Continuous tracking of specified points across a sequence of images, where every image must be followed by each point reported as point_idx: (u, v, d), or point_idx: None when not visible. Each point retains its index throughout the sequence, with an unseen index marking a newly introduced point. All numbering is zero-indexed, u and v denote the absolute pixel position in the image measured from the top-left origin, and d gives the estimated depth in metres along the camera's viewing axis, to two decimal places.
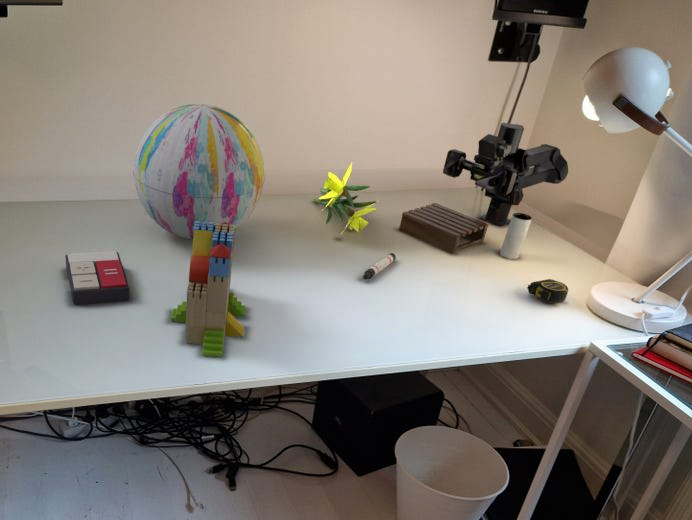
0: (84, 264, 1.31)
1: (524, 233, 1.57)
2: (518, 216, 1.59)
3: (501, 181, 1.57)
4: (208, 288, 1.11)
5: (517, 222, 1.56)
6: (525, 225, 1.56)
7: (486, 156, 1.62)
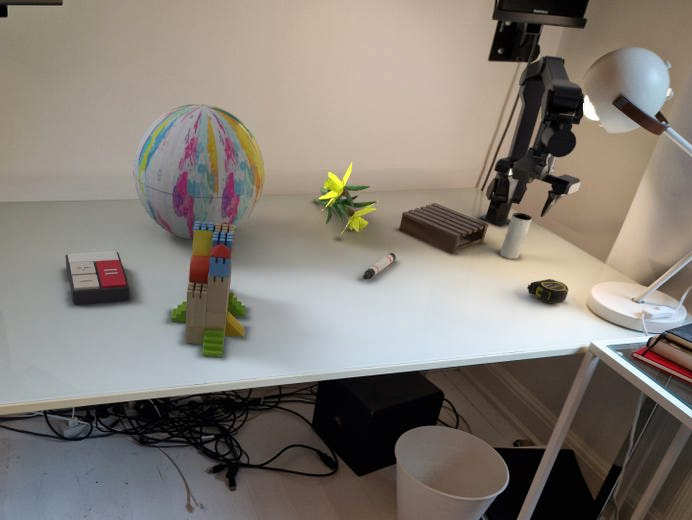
0: (84, 264, 1.31)
1: (524, 233, 1.57)
2: (518, 216, 1.59)
3: None
4: (208, 288, 1.11)
5: (517, 222, 1.56)
6: (525, 225, 1.56)
7: None
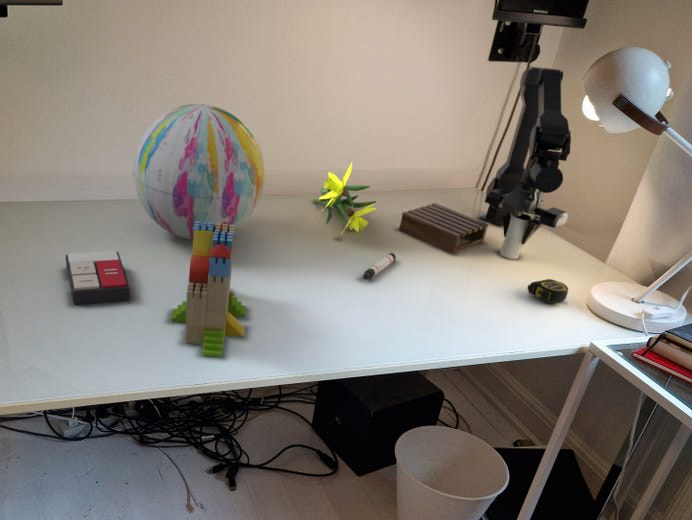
0: (84, 264, 1.31)
1: (524, 233, 1.57)
2: (518, 216, 1.59)
3: None
4: (208, 288, 1.11)
5: (517, 222, 1.56)
6: (525, 225, 1.56)
7: None
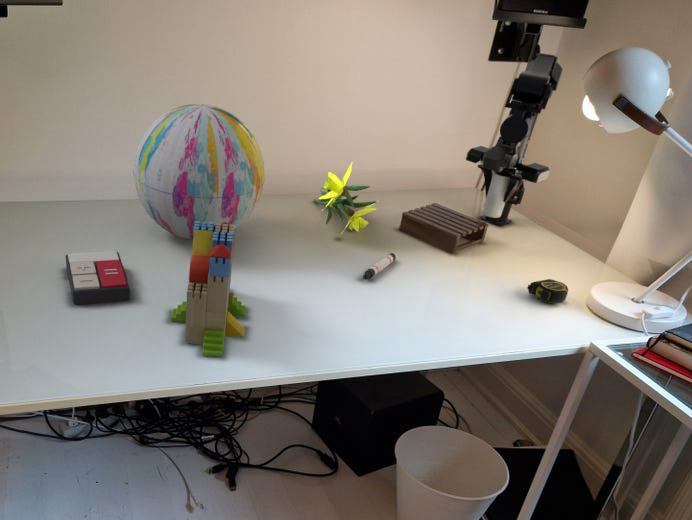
0: (84, 264, 1.31)
1: (506, 190, 1.55)
2: (500, 174, 1.56)
3: None
4: (208, 288, 1.11)
5: (499, 179, 1.53)
6: (507, 182, 1.53)
7: None
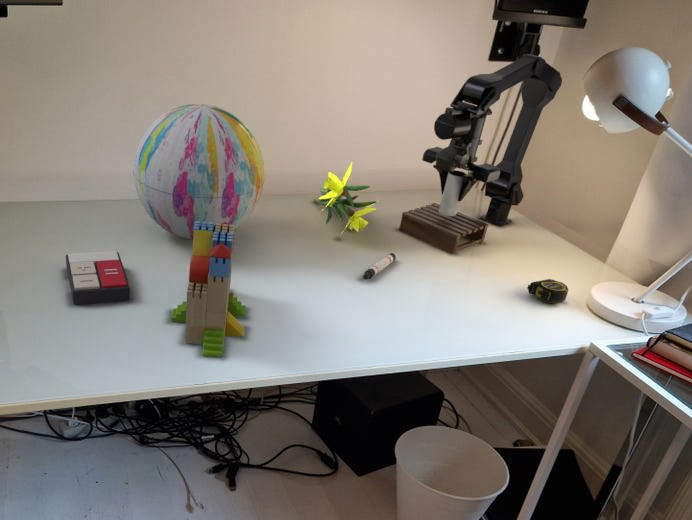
0: (84, 264, 1.31)
1: None
2: (454, 174, 1.62)
3: None
4: (208, 288, 1.11)
5: (452, 179, 1.59)
6: (460, 182, 1.59)
7: None
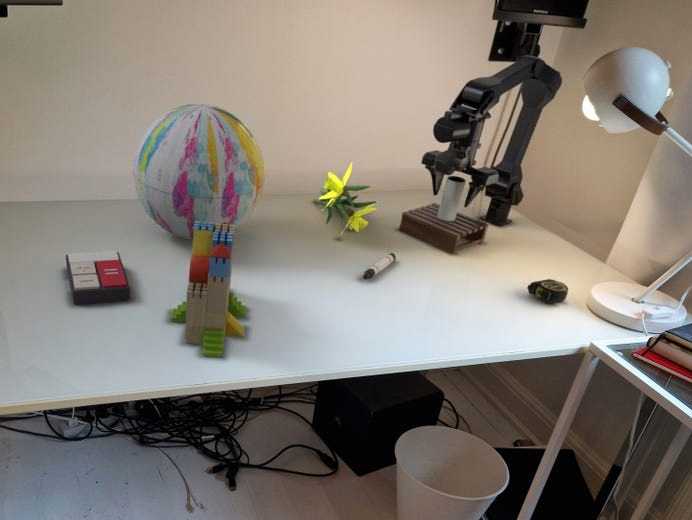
0: (84, 264, 1.31)
1: (458, 195, 1.61)
2: (453, 179, 1.62)
3: None
4: (208, 288, 1.11)
5: (451, 184, 1.60)
6: (459, 187, 1.60)
7: None
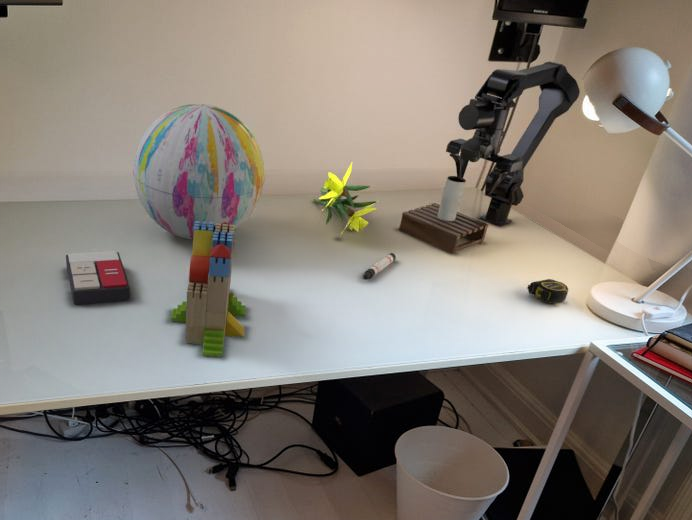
0: (84, 264, 1.31)
1: (458, 195, 1.61)
2: (453, 179, 1.62)
3: None
4: (208, 288, 1.11)
5: (451, 184, 1.60)
6: (459, 187, 1.60)
7: None
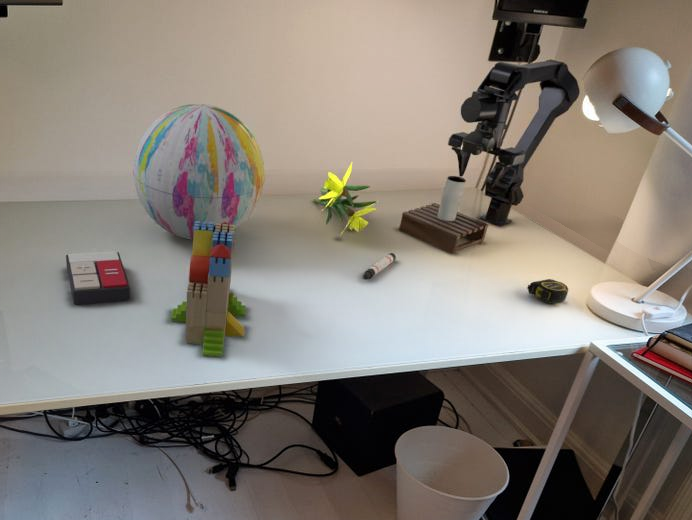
0: (85, 264, 1.31)
1: (458, 195, 1.61)
2: (453, 179, 1.62)
3: None
4: (208, 288, 1.11)
5: (451, 184, 1.60)
6: (459, 187, 1.60)
7: None
